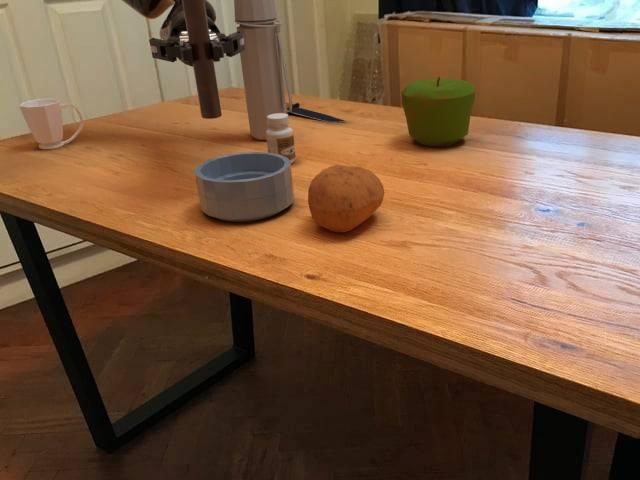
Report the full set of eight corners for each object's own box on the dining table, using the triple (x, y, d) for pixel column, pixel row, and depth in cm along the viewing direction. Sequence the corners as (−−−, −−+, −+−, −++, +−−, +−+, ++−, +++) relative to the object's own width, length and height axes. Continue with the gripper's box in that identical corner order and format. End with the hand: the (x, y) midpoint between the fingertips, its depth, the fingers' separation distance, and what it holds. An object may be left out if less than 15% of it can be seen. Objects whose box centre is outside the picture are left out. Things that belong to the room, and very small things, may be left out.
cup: (27, 145, 124) (14, 102, 121) (82, 135, 130) (71, 93, 126) (35, 153, 119) (22, 109, 116) (92, 143, 124) (81, 99, 121)
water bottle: (241, 140, 123) (221, -7, 111) (265, 129, 129) (248, -11, 117) (283, 144, 119) (266, -7, 107) (306, 133, 125) (292, -11, 113)
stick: (203, 119, 92) (182, -6, 84) (200, 115, 94) (179, -7, 86) (223, 117, 93) (204, -7, 85) (220, 112, 95) (201, -9, 87)
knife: (337, 133, 130) (353, 124, 133) (335, 121, 129) (351, 111, 132) (249, 110, 144) (265, 101, 147) (246, 98, 142) (263, 90, 145)
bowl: (208, 231, 85) (200, 187, 83) (197, 199, 96) (189, 159, 93) (304, 215, 89) (300, 172, 86) (283, 186, 100) (278, 147, 97)
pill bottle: (285, 167, 108) (280, 120, 104) (264, 164, 109) (258, 117, 106) (301, 159, 111) (296, 113, 107) (280, 156, 113) (275, 111, 109)
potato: (291, 228, 86) (285, 173, 82) (348, 201, 93) (344, 150, 90) (345, 245, 80) (341, 186, 77) (400, 215, 88) (399, 161, 84)
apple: (475, 132, 122) (477, 69, 116) (471, 152, 111) (473, 83, 106) (408, 131, 124) (407, 69, 118) (398, 150, 113) (396, 83, 108)
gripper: (141, 14, 98) (141, 28, 83) (236, 7, 101) (252, 20, 87) (151, 67, 101) (153, 89, 87) (243, 58, 105) (260, 78, 90)
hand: (203, 54), depth 87 cm, fingers closed on stick, 3 cm apart
